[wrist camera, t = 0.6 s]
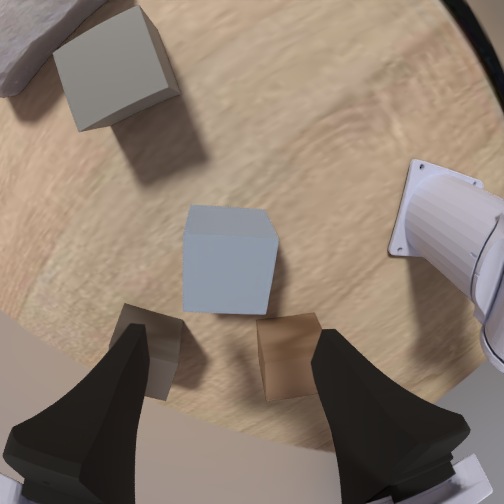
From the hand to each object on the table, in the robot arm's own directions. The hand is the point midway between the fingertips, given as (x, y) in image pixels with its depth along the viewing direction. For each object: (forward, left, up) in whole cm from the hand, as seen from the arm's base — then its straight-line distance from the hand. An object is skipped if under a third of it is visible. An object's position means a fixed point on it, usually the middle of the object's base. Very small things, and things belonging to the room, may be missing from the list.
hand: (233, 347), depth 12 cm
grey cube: (+7, -11, -10) cm, 17 cm away
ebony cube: (+6, +9, -10) cm, 15 cm away
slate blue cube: (0, 0, -10) cm, 10 cm away
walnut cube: (-6, +9, -10) cm, 15 cm away
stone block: (+16, -18, -11) cm, 26 cm away
